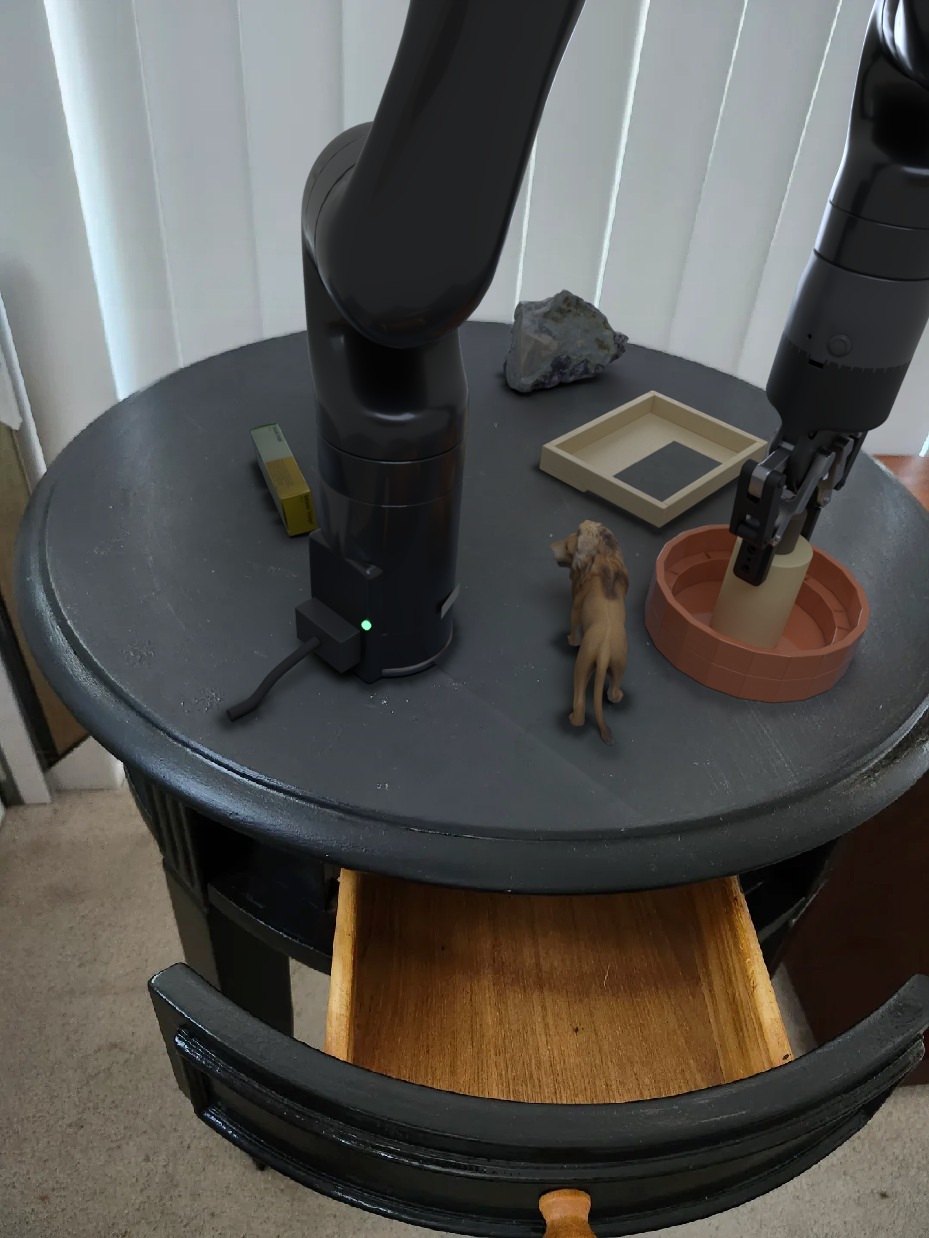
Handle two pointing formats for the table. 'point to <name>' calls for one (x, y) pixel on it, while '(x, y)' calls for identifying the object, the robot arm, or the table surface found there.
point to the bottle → (764, 592)
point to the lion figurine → (596, 615)
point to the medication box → (284, 479)
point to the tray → (648, 453)
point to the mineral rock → (559, 342)
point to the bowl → (788, 672)
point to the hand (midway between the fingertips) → (769, 561)
